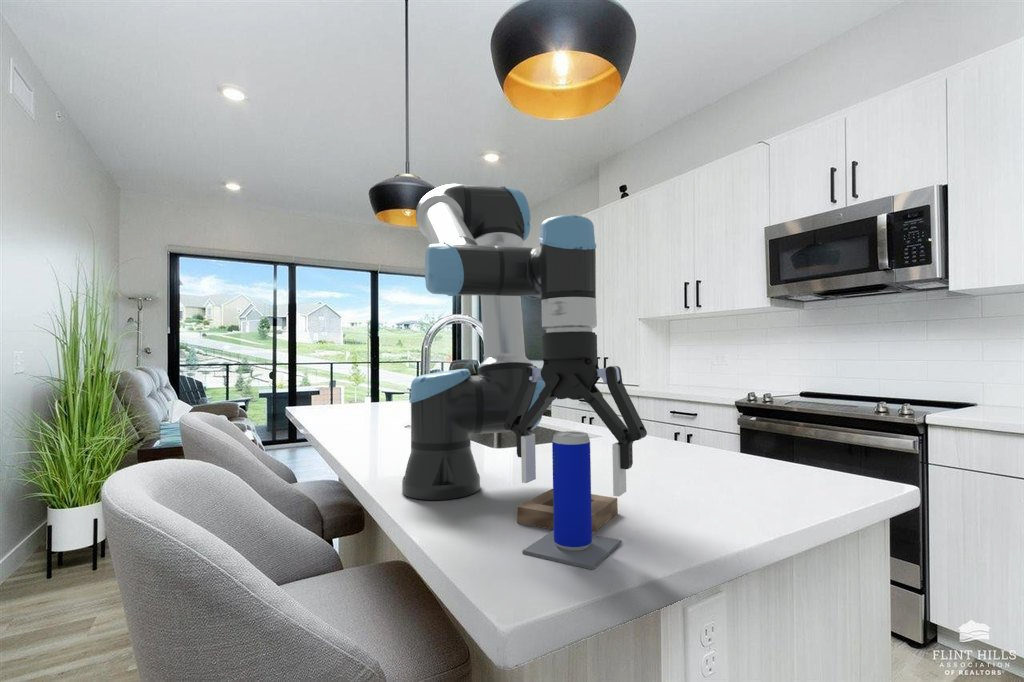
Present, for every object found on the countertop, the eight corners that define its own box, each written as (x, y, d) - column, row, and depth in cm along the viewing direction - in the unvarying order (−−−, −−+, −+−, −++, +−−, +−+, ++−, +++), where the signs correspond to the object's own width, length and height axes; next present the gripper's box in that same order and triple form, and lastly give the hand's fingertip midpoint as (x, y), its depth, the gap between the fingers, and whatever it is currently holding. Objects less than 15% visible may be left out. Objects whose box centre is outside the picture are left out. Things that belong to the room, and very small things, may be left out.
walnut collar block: (517, 522, 79) (517, 506, 79) (552, 502, 89) (552, 488, 89) (588, 536, 72) (587, 518, 72) (617, 513, 83) (617, 498, 83)
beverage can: (569, 535, 72) (568, 429, 72) (599, 544, 68) (597, 433, 69) (546, 545, 68) (544, 434, 69) (576, 555, 65) (574, 438, 65)
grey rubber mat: (522, 553, 67) (522, 550, 67) (557, 530, 75) (557, 527, 75) (592, 569, 61) (592, 566, 61) (621, 542, 70) (621, 539, 70)
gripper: (479, 333, 72) (481, 481, 72) (651, 326, 59) (655, 508, 59) (507, 334, 79) (509, 471, 78) (668, 328, 65) (672, 492, 65)
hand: (572, 487), depth 68 cm, fingers open, 13 cm apart
